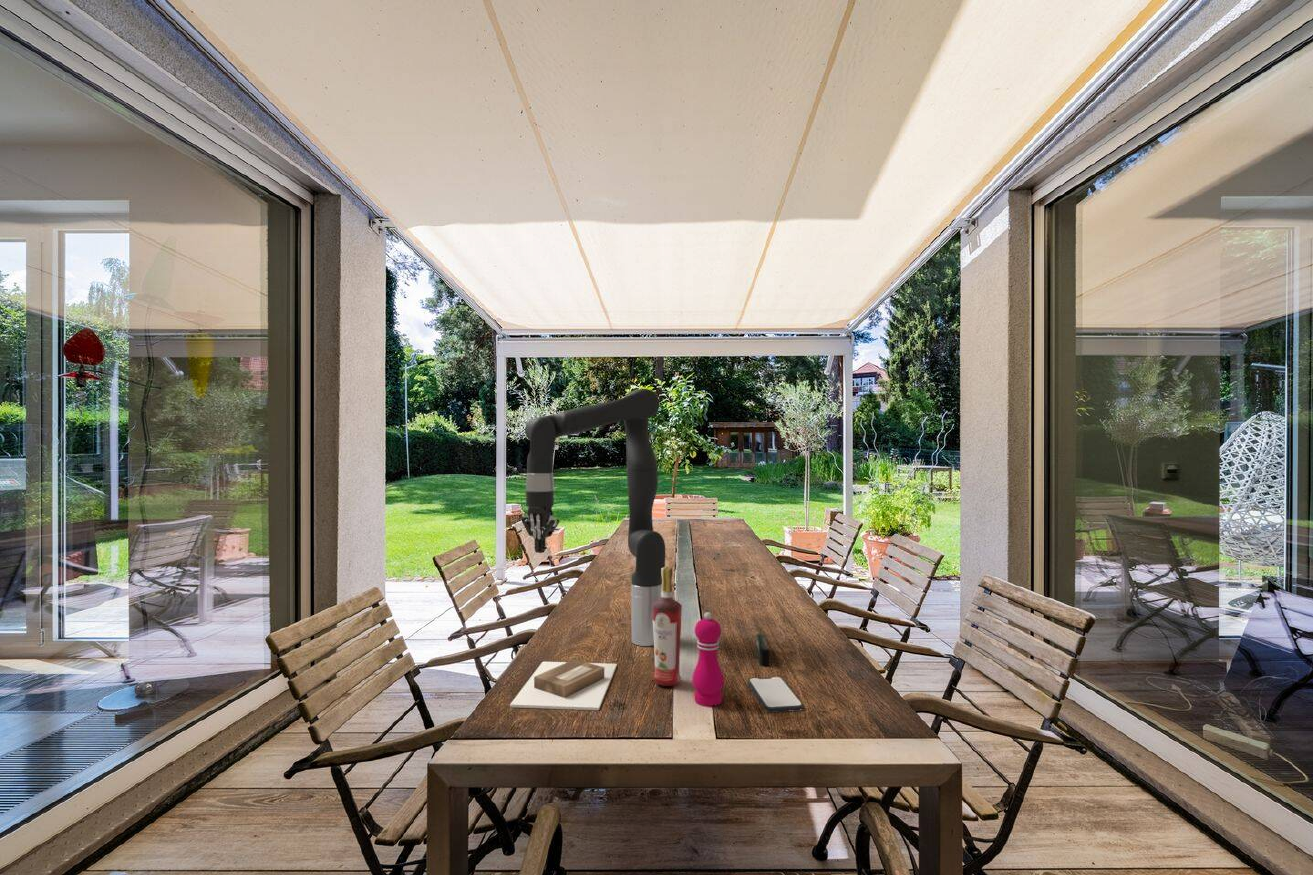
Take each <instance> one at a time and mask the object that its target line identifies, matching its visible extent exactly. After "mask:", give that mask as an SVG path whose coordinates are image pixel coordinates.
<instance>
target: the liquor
mask: <svg viewBox="0 0 1313 875" xmlns="http://www.w3.org/2000/svg"><path fill="white" fill-rule="evenodd" d="M661 576H662V591H661V600H659V601H656V602H655V603H654V604H653V605H652V616H653V636H654V646H653V651H654V652H653V653H654V654H653V655H654V675H653V677H652V679H653V681H655V682H656V683H657V684H658V685H659V686H660V685H661V687H664V686H671V687H674V686H676V685H677V684H678V683H679V682H680V681H681V679H682V677H681V674H680V655H681V654H680V653H681V651H680V650H681V634H682V632H681V631H682V609H683V608H682V607H683V605H682V604H681V603H680V602H678V601H677V600H675V599H674V597H673V587H672V580H673V579H672V578H673V567H670V566H669V567H666V566H665V567H664V568H661Z"/></svg>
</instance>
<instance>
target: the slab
mask: <svg viewBox="0 0 1313 875" xmlns="http://www.w3.org/2000/svg"><path fill="white" fill-rule="evenodd" d="M566 662H567V663H565V664H562V665H560V666H558V667H556V668H553V669H551V670H549V671H546V672H544V673H542V674H540V675H537V676H535V677H534V688H536V689H539V690H542V691H545V692H548V693H551V694H554V695H557V696H560V697H563V698H566V697H568V696H570V695H572V694H574V693H576V692H578V691H580V690H582V689H584V688H586V687H588V686H590V685H592V684H594V683H596V682H598V681H600V680H601V679H603V678H604V667H601V666H597V665H594V664H590V663H591V662H587V661H582V660H579V659H575V658H574V659H572V660H569V661H566Z"/></svg>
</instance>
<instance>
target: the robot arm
mask: <svg viewBox="0 0 1313 875" xmlns="http://www.w3.org/2000/svg"><path fill="white" fill-rule="evenodd" d="M660 403H661V402H660V398H659V396H658V395H657V394H656V393H655V392H654V391H653V390H651V389H648V388H638V389H634V390H631V391H629V392H628V393H627V394H625V396H624V397H621V398H618V399H615V400H611V401H606V402H601V403H597V404H590V405H589V404H588V405H586V406H585V405H584V406H580V407H576V408H572V409H571V408H570V409H567V410H564V411H561V412H559V413H555V414H550V415H545V416H538V417H535V418H532V419H531V420H529V421H528V422H527V423H526V425H525V428H524V433H525V436H526V438H527V439H528V440H530V441H529V453H528V455H527V459H526V460H527V461H526V467H527V468H526V480H525V483H526V484H525V506H526V507H527V508H528V509H527V513H526V515H525V516H524V517H521V522H522V524H523V526H524V528H525V531H526V532H527V534H528V536H529V537H532V538H533V540H534V551H535V553H537V554H542V553H545V551H546V540H547V538H549V537H551V536H552V535H553V534H554V532H555V530H556V528H557V527H558V525H559V524H560V519H558V518H557V519H556V517H554V512H553V510H552V508H553V506H554V505H555V492H554V491H555V486H554V485H555V481H554V480H555V479H554V459H553V457H554V450H555V444H556V438H559V437H564V436H571V435H573V436H574V435H575V434H579V433H585V432H587V431H591V430H595V429H597V428H600V427H604V426H607V425H611V424H615V423H618V422H622V421H623V424H624V429H625V430H624V431H625V448H626V449H625V450H626V454H625V455H626V481H627V482H626V484H627V495H628V496H627V497H628V498H627V499H628V511H629V513H628V514H629V516H628V517H629V518H628V534H627V535H628V537H627V546H628V550H629V553H631V555H633V556H634V557H635V571H634V572H633V573H632V574H631V578H630V579H631V581H630V582H631V589H630V590H631V591H630V592H631V597H630V598H631V600H630V601H631V602H630V603H631V604H630V605H631V608H630V610H631V613H630V614H631V622H630V624H631V627H630V628H631V632H630V634H631V635H630V637H631V643H632V644H634V645H636V646H641V647H654V636H653V616H652V605H653V604H654V603H655V602H656V601H659V600H661V591H662V576H661V568H664V567H666V542H665V540H664V537H663V536H662V535H661V534H660V533H659V532H657V531H654V525H653V507H654V502H655V499H656V496H657V492H658V485H659V483H658V482H659V477H658V462H657V459H656V455H655V453H654V449H653V446H652V444H651V441H650V438H649V419H651V418H653V417H655V415H656V414H657V413H658V412H659V409H660V405H661V404H660Z"/></svg>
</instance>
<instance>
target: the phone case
mask: <svg viewBox="0 0 1313 875" xmlns="http://www.w3.org/2000/svg"><path fill="white" fill-rule="evenodd" d="M747 685H748V687H749V688H750V690H751V691H752V692H753V695H754V696H755V695H756V696H755V698H758V699H757V700H758V702H759V701H760V702H759V703H760V704H762V705H763V706H762V705H761V706H762V708H763V707H764V708H765V709H764V708H763V709H764V711H766V710H767V711H769V712H768V713H774V712H773V711H787V712H790V711H789V710H800V709H803V710H804V704H803V702H802V701H801V699H800V698H798V696H797V695H796V693H795V692H793V691H794V690H792V688H790V686H789V685H788V683H787V682H786V681H785V680H784V679H783V678H782V677H779V676H770V677H769V676H767V677H766V676H765V677H752V678H749V679H748V681H747ZM767 711H766V712H767Z"/></svg>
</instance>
